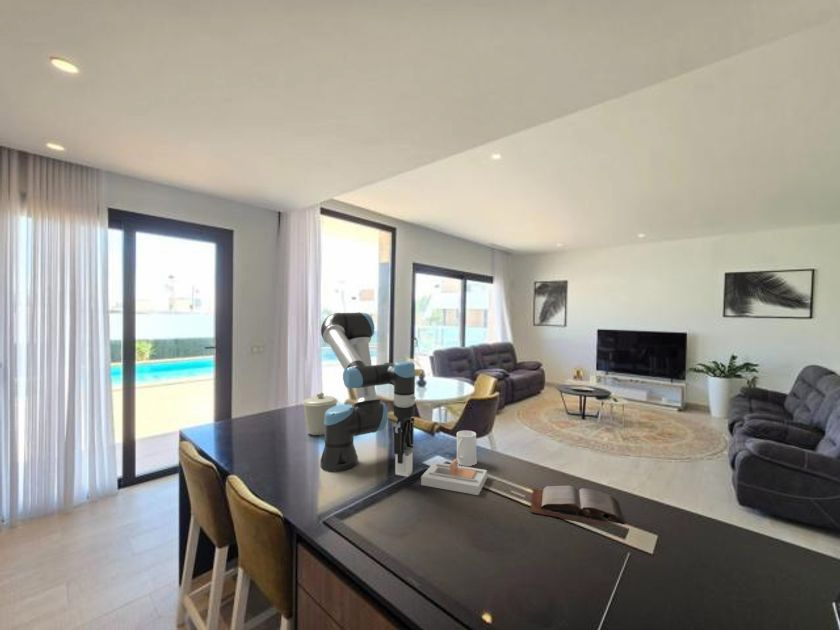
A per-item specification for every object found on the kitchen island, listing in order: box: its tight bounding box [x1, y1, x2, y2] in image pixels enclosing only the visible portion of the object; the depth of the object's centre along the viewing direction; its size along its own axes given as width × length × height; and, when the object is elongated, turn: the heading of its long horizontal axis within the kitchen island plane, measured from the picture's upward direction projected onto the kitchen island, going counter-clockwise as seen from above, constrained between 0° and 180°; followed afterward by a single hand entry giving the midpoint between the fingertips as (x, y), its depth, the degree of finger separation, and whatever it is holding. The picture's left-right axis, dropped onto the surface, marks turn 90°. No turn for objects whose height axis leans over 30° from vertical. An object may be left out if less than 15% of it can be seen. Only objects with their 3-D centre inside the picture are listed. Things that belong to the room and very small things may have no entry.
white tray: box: [420, 461, 488, 496], centre depth 136 cm, size 21×14×4 cm, turn 68°
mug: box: [456, 430, 478, 467], centre depth 152 cm, size 12×8×12 cm
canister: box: [301, 391, 339, 436], centre depth 193 cm, size 18×18×21 cm
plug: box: [394, 442, 414, 477], centre depth 134 cm, size 5×4×11 cm
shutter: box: [449, 458, 476, 479], centre depth 134 cm, size 8×7×4 cm
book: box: [529, 485, 626, 528], centre depth 118 cm, size 20×28×4 cm
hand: (403, 468), depth 134 cm, fingers closed on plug, 4 cm apart
